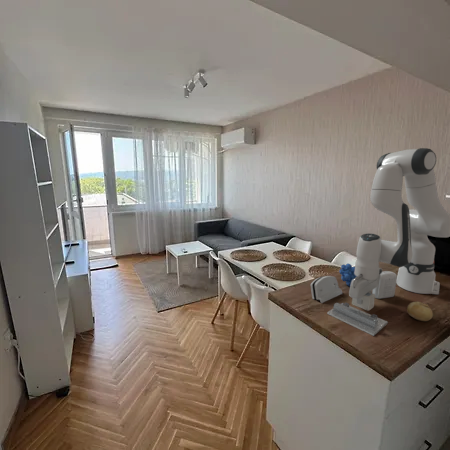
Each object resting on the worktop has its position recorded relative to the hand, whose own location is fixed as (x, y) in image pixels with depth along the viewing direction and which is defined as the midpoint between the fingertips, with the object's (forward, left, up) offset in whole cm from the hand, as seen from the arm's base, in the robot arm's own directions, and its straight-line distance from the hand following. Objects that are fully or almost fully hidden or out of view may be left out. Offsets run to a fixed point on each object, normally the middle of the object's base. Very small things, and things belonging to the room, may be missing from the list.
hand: (363, 301), depth 107 cm
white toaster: (+4, -16, -2) cm, 16 cm away
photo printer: (-16, +2, -2) cm, 16 cm away
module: (0, 0, -2) cm, 2 cm away
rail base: (+12, +3, -2) cm, 13 cm away
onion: (-8, +18, -2) cm, 20 cm away
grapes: (-13, -13, -2) cm, 19 cm away
